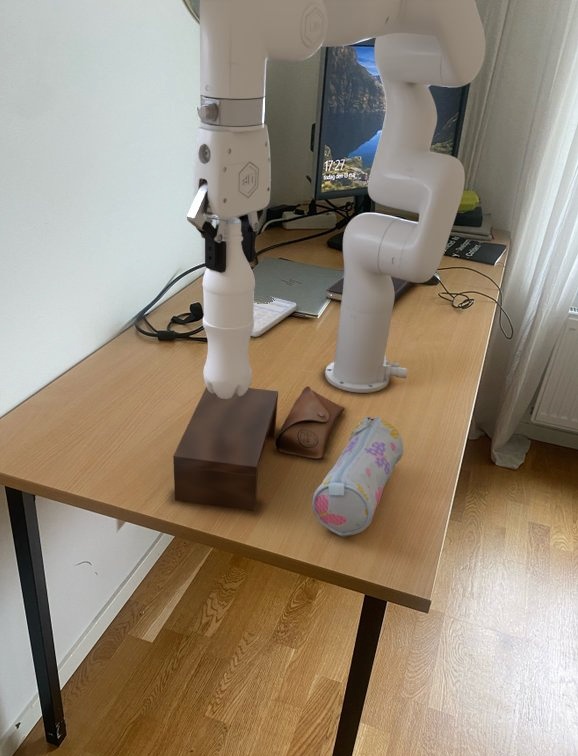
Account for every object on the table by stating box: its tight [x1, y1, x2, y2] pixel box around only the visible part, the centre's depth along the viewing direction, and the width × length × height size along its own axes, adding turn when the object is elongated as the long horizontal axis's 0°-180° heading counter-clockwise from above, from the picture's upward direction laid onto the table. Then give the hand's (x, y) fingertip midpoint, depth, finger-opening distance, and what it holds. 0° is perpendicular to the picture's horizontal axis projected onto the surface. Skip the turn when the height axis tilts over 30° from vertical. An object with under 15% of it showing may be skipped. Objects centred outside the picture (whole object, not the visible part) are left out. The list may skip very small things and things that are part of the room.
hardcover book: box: [325, 276, 416, 304], centre depth 170 cm, size 16×23×2 cm
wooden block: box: [172, 386, 279, 512], centre depth 104 cm, size 12×22×8 cm, turn 170°
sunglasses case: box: [274, 386, 345, 460], centre depth 115 cm, size 18×7×7 cm
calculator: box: [251, 296, 297, 338], centre depth 155 cm, size 13×20×2 cm, turn 149°
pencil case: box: [311, 416, 404, 537], centre depth 97 cm, size 21×9×10 cm, turn 156°
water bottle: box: [201, 218, 256, 399], centre depth 92 cm, size 7×7×25 cm
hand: (229, 263), depth 88 cm, fingers closed on water bottle, 4 cm apart
